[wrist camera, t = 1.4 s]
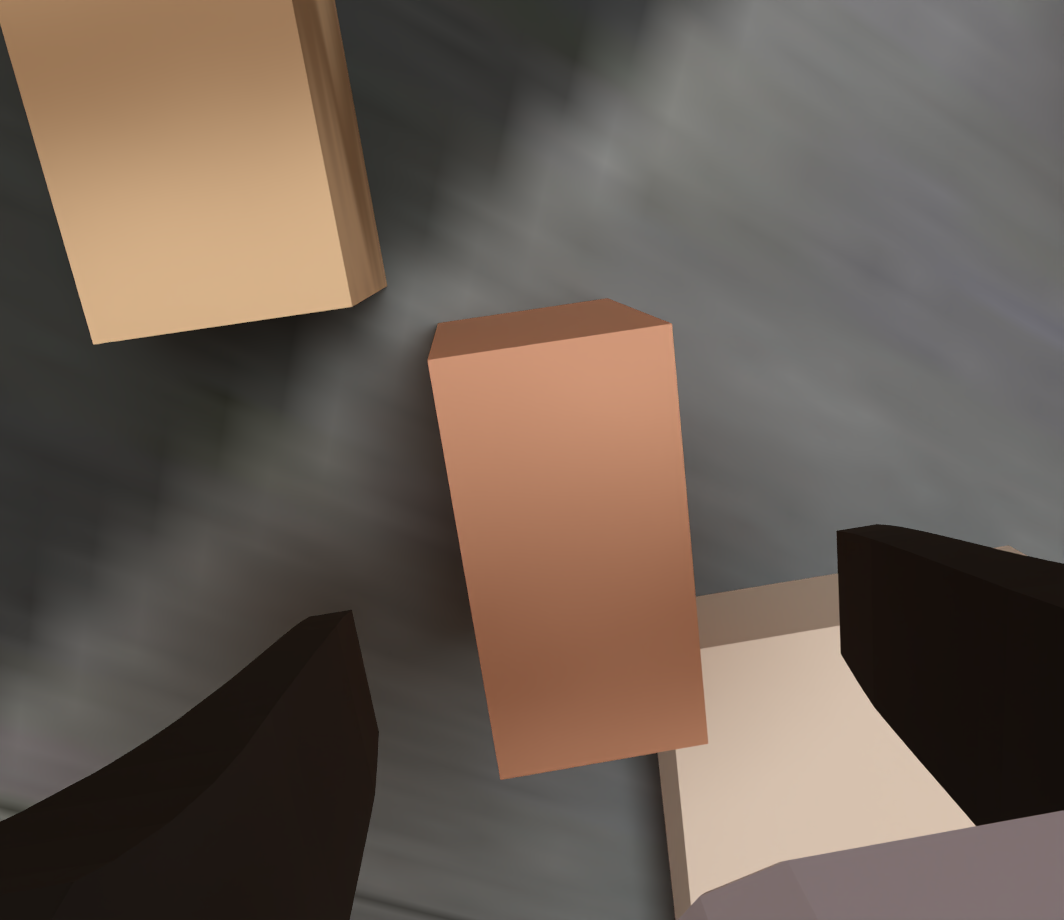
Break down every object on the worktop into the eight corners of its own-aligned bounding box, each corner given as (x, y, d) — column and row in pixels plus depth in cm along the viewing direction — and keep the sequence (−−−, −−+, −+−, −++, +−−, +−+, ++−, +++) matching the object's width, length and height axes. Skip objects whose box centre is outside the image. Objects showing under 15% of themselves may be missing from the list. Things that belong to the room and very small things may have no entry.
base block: (986, 891, 25) (1055, 976, 22) (676, 949, 25) (704, 1043, 22) (997, 539, 22) (1079, 585, 19) (638, 598, 21) (665, 654, 18)
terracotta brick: (640, 604, 21) (708, 743, 15) (489, 629, 21) (500, 779, 15) (606, 297, 19) (672, 323, 13) (438, 323, 18) (427, 360, 13)
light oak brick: (387, 286, 18) (352, 307, 12) (212, 311, 18) (93, 344, 12) (313, -117, 16) (228, -320, 10) (112, -93, 16) (-89, -285, 10)
